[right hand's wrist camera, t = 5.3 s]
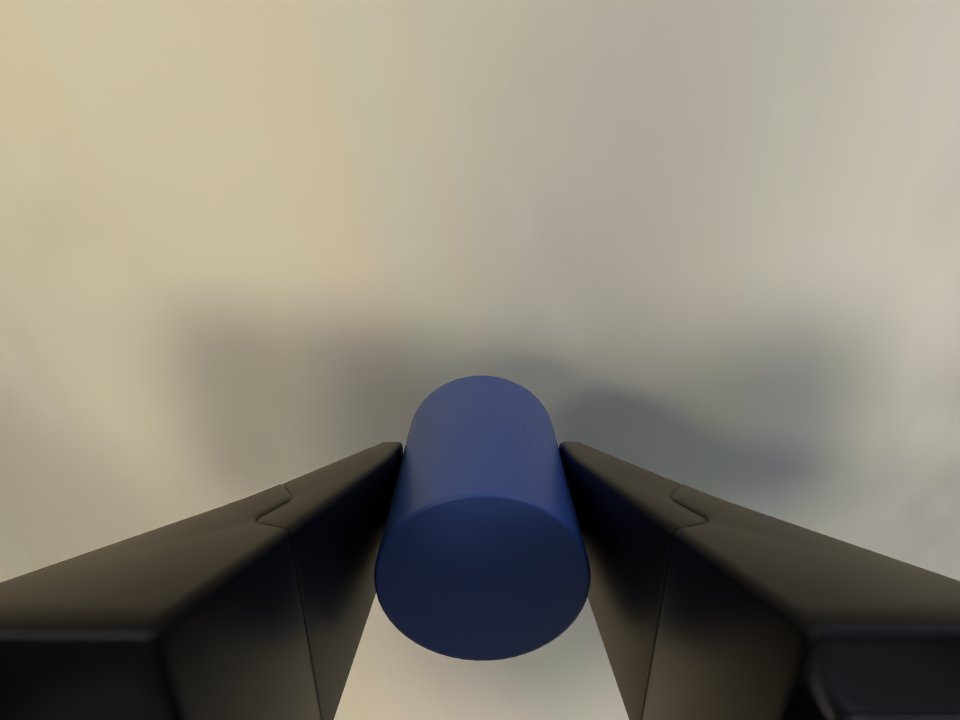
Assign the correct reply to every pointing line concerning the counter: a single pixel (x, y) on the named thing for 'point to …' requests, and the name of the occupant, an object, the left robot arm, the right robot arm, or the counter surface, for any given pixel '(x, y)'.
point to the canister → (482, 527)
